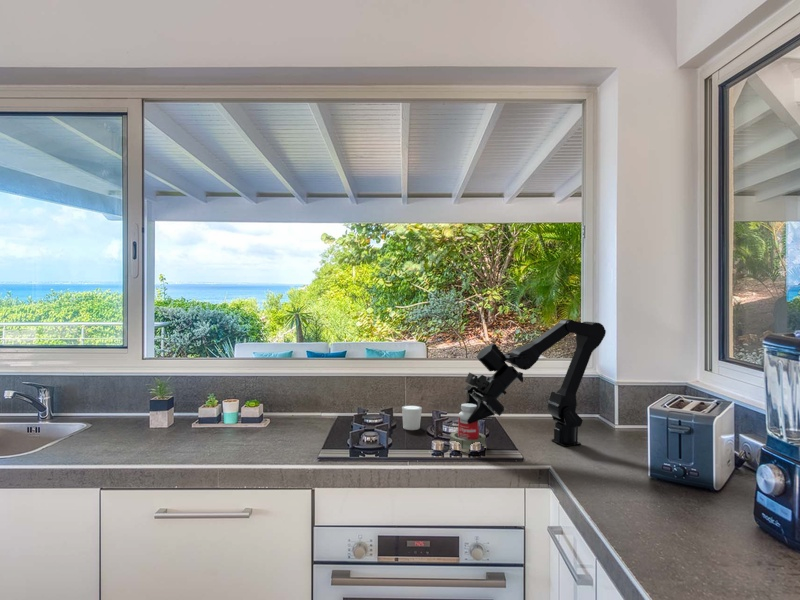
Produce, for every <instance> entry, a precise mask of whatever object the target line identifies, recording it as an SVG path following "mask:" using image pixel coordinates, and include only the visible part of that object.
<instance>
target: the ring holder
mask: <svg viewBox="0 0 800 600" xmlns="http://www.w3.org/2000/svg"><path fill="white" fill-rule="evenodd" d="M486 437H487V436H486V435H485V434H483V433H481V432H479V439H474V440H468V439H461V438H458V430H455V431H453V432H450V434H449V442H450V441H456V442H459V443H460V444H461V450H462V451H465V452H468V451H469V449H470V445H471V444H473V443H475V442H480V443H481V444H482V446H484V448H486V449H487V444H486Z"/></svg>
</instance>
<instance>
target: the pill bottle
mask: <svg viewBox="0 0 800 600" xmlns="http://www.w3.org/2000/svg"><path fill="white" fill-rule="evenodd" d="M476 408H477V405H475V404H468V403H467V404H466V403H461V405H460V409H461V411H460V412H459V413H458V421H457V422H458V423H457V426H458V428H457V431H458V438H461V439H468V440H474V439H479V433H480V420H478V421H476V422H473V423H471V424H469V423H468V422H467V420H468V419H469V417H470V416H471V415H472V413H473V412H474V410H475V409H476Z"/></svg>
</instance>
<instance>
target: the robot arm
mask: <svg viewBox="0 0 800 600" xmlns="http://www.w3.org/2000/svg"><path fill="white" fill-rule="evenodd" d="M606 332H607V331H606V329H605V326H604V325H603V324H602V323H600V322H595V321H583V322H580V321H577V320H574V319H567V318H565V319H564V318H563V319H561V320H559V322H558V323H556V324H555V325H554V326H552V327H551V328H549V329H548V330H547V331H545V332H544V333H542V334H541V335H540V336H538V337H537V338H536V339H534V340H533V341H531V342H529V343H526V344H523V345H521V346H518V347H516V348H514V349H512V350H511V351H510V352H508V353H503V352H502V351H501V350H500V348H499V347H498V346H497V345H496V344H495V343H493V342H492V343H490V344H489V345H487V346H486V347H484V348H482V349H481V350H480V351H479V352H478V353H477V354H476V359H477V360H478V362H480V363H481V364H482V365H483V366H484V367H485V368H486V369H487V370H488V372H494V373H493V375H491V377H490V376H485V375H484V374H481V373H480V374H478V375H476V374H474V373H472V372H468V375H466V379H465V381H464V383H467V384H468V385H467V386H466V387H465V388H464V391H465V392H466V402H465V404H467V403H468V404H475V405H477V408H476V409H475V410H474V412H473V413H472V415H471V416H470V417H469V419H468V420H467V422H468V423H469V424H471V423H473V422H476V421H478V420H479V421H480V420H483V419H485V418H488V417H489V418H490V417H491V416H495V415H497V416H499V417H500V416H502V414H503V413H504V411H505V406H504V405H503V404H502V403H501V402H500V401H499V400H498V399H499V398H500V396H502V395H503V396H505V395H506V394H507V391H506V390H507V389H508V388H509V387H510V386H511V385H512V383H514V382H515V381H518V382H521V383H523V382H524V376H523V375H524V373H523V372H521V371H518V370H517V369H520V370H525V371H528V370H529V369H532V367H533V366H534V365H535V364H536V363H537V362H538V360H539V359H540V358H541V356H542V355H543V353H545V352H546V351H547V350H549V349H550V348H552V347H553V346H554V345H556V344H557V343H559V342H560V341H561V340H562V339H564V338H565V337H567V336H569V335H570V334H575V340H576V341H575V342H576V348H575V350H574V353H573V355H572V357H571V360H570V363H569V366H568V369H567V371H566V374H565V376H564V379H563V382H562V384H561V387H560V388H559V389H558V390H557V391H554V390H552V391H551V392H550V396H549V399H548V401H547V402H546V403H547V411H548V413H549V414H550V415H551V419H552V420H553V421H555V424H554V425H555V426H554V429H553V433H554V434H553V438H552V439H551V442H554V443H555V444H558V445H559V446H560V445H561V446H563V447H571V446H573V447H575V446H580V445H582V443H581V442H580V441H578V438H579V436H578V435H579V428H580V427H582V424H583V422H584V421H583V420H584V419H583V418H582V417H581V416H579V414H578V413H577V412H576V411H577V406H578V404H577V403H578V401H577V393H578V390H579V387H580V386H581V382H582V379H583V377H584V374H585V371H586V369H587V366H588V364H589V362H590V359H591V356H592V353H593V352H594V351H595V350H596V349H597V348H598V347H599V346H601V343H602V341H603V339H604V338H605V336H606ZM508 364H510V365H508ZM516 368H517V369H516Z"/></svg>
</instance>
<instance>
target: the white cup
mask: <svg viewBox="0 0 800 600" xmlns="http://www.w3.org/2000/svg"><path fill="white" fill-rule="evenodd" d="M422 409H423V408H422V406H419V405H412V404H411V405H410V404H409V405H403V406H401V412H402V413H401V414H402V427H403V430H407V431H416V430H419V429H420V427H421V420H422V419H421V418H422Z"/></svg>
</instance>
